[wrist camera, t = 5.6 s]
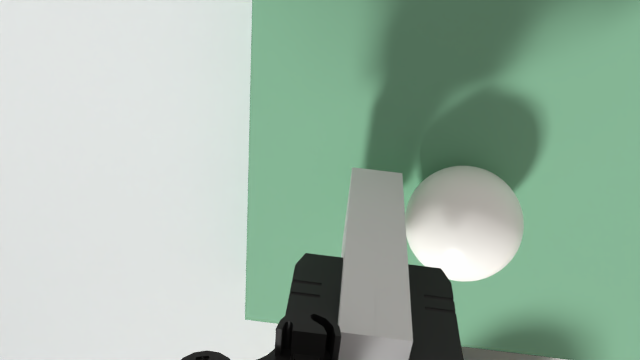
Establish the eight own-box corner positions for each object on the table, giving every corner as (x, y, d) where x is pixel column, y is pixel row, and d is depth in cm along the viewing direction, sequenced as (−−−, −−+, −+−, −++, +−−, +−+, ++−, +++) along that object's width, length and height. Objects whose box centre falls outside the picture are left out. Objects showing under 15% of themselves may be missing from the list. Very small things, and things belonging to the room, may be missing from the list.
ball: (376, 271, 18) (483, 324, 16) (393, 176, 16) (515, 224, 14) (425, 222, 20) (521, 263, 19) (444, 134, 18) (553, 171, 17)
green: (256, 277, 25) (245, 319, 23) (268, -69, 17) (253, -55, 15) (768, 340, 24) (806, 389, 22) (1004, 9, 17) (1095, 34, 15)
